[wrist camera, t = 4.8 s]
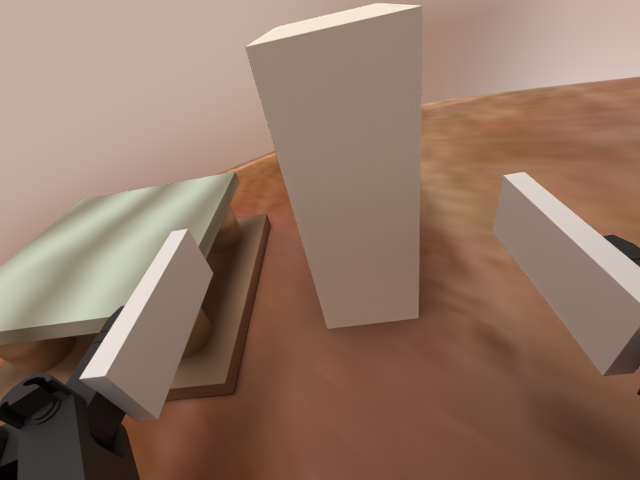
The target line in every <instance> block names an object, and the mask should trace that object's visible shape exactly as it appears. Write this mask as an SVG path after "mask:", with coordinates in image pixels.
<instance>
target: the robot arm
mask: <svg viewBox="0 0 640 480" xmlns="http://www.w3.org/2000/svg"><path fill="white" fill-rule="evenodd" d="M493 233H494V234H495V235H496V237H497V238H498V239H499V241H500V242H501V243H502V245H503V246H504V247H505V248H506V250H507V251H508V252H509V254H510V255H511V256H512V258H513V259H514V260H515V262H516V263H517V264H518V265H519V267H520V268H521V269H522V271H523V272H524V273H525V275H526V276H527V277H528V279H529V280H530V281H531V283H532V284H533V285H534V286H535V288H536V289H537V290H538V292H539V293H540V294H541V296H542V297H543V298H544V300H545V301H546V302H547V303H548V305H549V306H550V307H551V309H552V310H553V311H554V313H555V314H556V315H557V317H558V318H559V319H560V320H561V322H562V323H563V324H564V326H565V327H566V328H567V330H568V331H569V332H570V334H571V335H572V336H573V338H574V339H575V340H576V341H577V343H578V344H579V345H580V347H581V348H582V349H583V351H584V352H585V353H586V355H587V356H588V357H589V358H590V360H591V361H592V362H593V364H594V365H595V366H596V368H597V369H598V370H599V372H600V373H601V374H602V376H608V375H618V374H628V373H634V372H635V371H636V370H637V368H638V367H639V366H640V248H639V247H637V246H636V245H635V244H633V243H630V242H628V241H626V240H624V239H622V238H619V237H617V236H615V235H608V236H601V235H600V234H599V233H598V232H596V231H595V230H594V229H593V228H592V227H590V226H589V225H588V224H587V223H586V222H584V221H583V220H582V219H581V218H579V217H578V216H577V215H576V214H575V213H573V212H572V211H571V210H570V209H569V208H567V207H566V206H565V205H564V204H562V203H561V202H560V201H559V200H558V199H556V198H555V197H554V196H553V195H552V194H550V193H549V192H548V191H547V190H546V189H544V188H543V187H542V186H541V185H539V184H538V183H537V182H536V181H535V180H533V179H532V178H531V177H530V176H529V175H527V174H526V173H525V172H521V173H515V174H509V175H503V180H502V185H501V190H500V195H499V200H498V206H497V211H496V216H495V221H494V226H493ZM212 275H213V272H212V270H211V268H210V267H209V265H208V263H207V261H206V260H205V258H204V256H203V254H202V253H201V251H200V249H199V247H198V246H197V244H196V242H195V240H194V239H193V237H192V235H191V233H190V231H189V230H188V229H184V230H178V231H172V232H171V233H170V235H169V237H168V238H167V240H166V241H165V243H164V244H163V246H162V248H161V249H160V251H159V252H158V254H157V256H156V257H155V259H154V260H153V262H152V264H151V265H150V267H149V268H148V270H147V272H146V273H145V275H144V276H143V278H142V280H141V281H140V283H139V284H138V286H137V287H136V289H135V291H134V292H133V294H132V295H131V297H130V299H129V300H128V302H127V303H126V305H125V306H121V307H120V308H119V309H117V310H116V311H115V312H114V313H113V314H112V315H111V316H110V317H109V318H108V320H107V321H106V323H105V324H104V326H103V327H102V329H101V330H100V334H98V335H97V336H96V338H95V339H94V341H93V345H91V346H90V347H89V349H88V350H87V352H86V353H85V355H84V356H83V358H82V359H81V361H80V362H79V364H78V365H77V367H76V368H75V370H74V372H73V373H72V375H71V376H70V378H69V379H68V381H67V382H66V384H63V383H62V382H60V381H59V380H58V379H56V378H55V377H53V376H52V375H50V374H48V373H44V372H42V373H38V374H34V375H32V376H30V377H28V378H26V379H24V380H22V381H21V382H20V383H18V384H17V385H15V386H14V387H13V388H12V389H11V390H10V391H9V392H8V393H7V394H6V395H5V396H4V397H3V398H2V399H1V401H0V420H1V421H3V422H5V423H7V424H4V425H2V426H0V480H140V479H139V475H138V471H137V468H136V464H135V460H134V457H133V453H132V449H131V446H130V442H129V438H128V435H127V431H126V429H125V427H124V426H123V425H122V424H121V422H122V420H123V418H124V416H125V414H127V415H128V416H130V417H131V418H132V419H134V420H135V421H146V420H156V419H158V418H159V416H160V413H161V410H162V408H163V405H164V402H165V400H166V397H167V394H168V392H169V389H170V386H171V384H172V381H173V379H174V376H175V373H176V371H177V368H178V365H179V363H180V360H181V357H182V355H183V352H184V349H185V347H186V344H187V342H188V339H189V336H190V334H191V331H192V328H193V326H194V323H195V320H196V318H197V315H198V312H199V310H200V307H201V305H202V302H203V299H204V297H205V294H206V291H207V289H208V286H209V283H210V281H211V278H212ZM637 394H638V395H640V388H639V390H638V392H637Z"/></svg>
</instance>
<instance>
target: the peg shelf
mask: <svg viewBox="0 0 640 480" xmlns="http://www.w3.org/2000/svg"><path fill="white" fill-rule="evenodd" d="M238 185H239V180H238V178H237V175H236V173H235V172H231V173H226V174H220V175H215V176H209V177H204V178H199V179H193V180H188V181H182V182H177V183H172V184H166V185H160V186H155V187H150V188H144V189H138V190H133V191H128V192H123V193H117V194H111V195H106V196H100V197H95V198H90V199H84V200H81V201H79V202H78V203H77V204H76V205H75V206H73V207H72V208H71V209H70V210H69V211H67V212H66V213H65V214H64V215H63V216H61V217H60V218H59V219H58V220H57V221H56V222H54V223H53V224H52V225H51V226H49V227H48V228H47V229H46V230H45V231H44V232H42V233H41V234H40V235H39V236H38V237H36V238H35V239H34V240H33V241H32V242H30V243H29V244H28V245H27V246H26V247H24V248H23V249H22V250H21V251H20V252H18V253H17V254H16V255H15V256H14V257H13V258H11V259H10V260H9V261H8V262H7V263H5V264H4V265H3V266H2V267H1V268H0V357H1V358H2V359H4V360H5V361H6V362H5V363H4V364H3V365H2V366H1V367H0V401H1V399H2V398H3V397H4V396H5V395H6V394H7V393H8V392H9V391H10V390H11V389H12V388H13V387H14V386H15V385H17V384H18V383H20V382H21V381H22V380H24V379H26V378H28V377H30V376H32V375H34V374H38V373H42V372H44V373H48V374H50V375H52V376H53V377H55V378H56V379H58V380H59V381H60V382H62V383H63V384H66V382H67V381H68V379H69V378H70V376H71V375H72V373H73V372H74V370H75V368H76V367H77V365H78V364H79V362H80V361H81V359H82V358H83V356H84V355H85V353H86V352H87V350H88V349H89V347H90V346H91V345H93V341H94V339H95V338H96V336H97V335H98V334H100V330H101V329H102V327H103V326H104V324H105V323H106V321H107V320H108V318H109V317H110V316H111V315H112V314H113V313H114V312H115V311H116V310H117V309H119V308H120V307H121V306H125V305H126V303H127V302H128V300H129V299H130V297H131V295H132V294H133V292H134V291H135V289H136V287H137V286H138V284H139V283H140V281H141V280H142V278H143V276H144V275H145V273H146V272H147V270H148V268H149V267H150V265H151V264H152V262H153V260H154V259H155V257H156V256H157V254H158V252H159V251H160V249H161V248H162V246H163V244H164V243H165V241H166V240H167V238H168V237H169V235H170V233H171V232H172V231H178V230H184V229H188V230H189V231H190V233H191V235H192V237H193V239H194V240H195V242H196V244H197V246H198V247H199V249H200V251H201V253H202V254H203V256H204V258H205V260H206V261H207V263H208V265H209V267H210V268H211V270H212V272H213V275H212V278H211V281H210V283H209V286H208V289H207V291H206V294H205V297H204V299H203V302H202V305H201V307H200V310H199V312H198V315H197V318H196V320H195V323H194V326H193V328H192V331H191V334H190V336H189V339H188V342H187V344H186V347H185V349H184V352H183V355H182V357H181V360H180V363H179V365H178V368H177V371H176V373H175V376H174V379H173V381H172V384H171V386H170V389H169V392H168V394H167V397H166V400H176V399H187V398H197V397H207V396H218V395H228V394H234V389H235V384H236V380H237V375H238V371H239V366H240V362H241V357H242V352H243V348H244V343H245V339H246V334H247V330H248V325H249V320H250V316H251V311H252V307H253V302H254V298H255V293H256V288H257V284H258V279H259V275H260V270H261V266H262V261H263V256H264V252H265V247H266V243H267V238H268V234H269V229H270V221H269V219H268V216H267V214H263V215H257V216H251V217H245V218H239V219H236V217H235V215H234V213H233V210H232V208H231V206H230V203H231V201H232V199H233V196H234V194H235V192H236V189H237V187H238ZM166 400H165V401H166Z"/></svg>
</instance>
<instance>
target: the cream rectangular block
mask: <svg viewBox="0 0 640 480" xmlns="http://www.w3.org/2000/svg"><path fill="white" fill-rule="evenodd" d="M245 48H246V52H247V55H248V59H249V62H250V65H251V69H252V72H253V76H254V79H255V83H256V86H257V89H258V93H259V96H260V99H261V103H262V107H263V110H264V113H265V117H266V120H267V124H268V127H269V130H270V134H271V137H272V141H273V144H274V148H275V151H276V154H277V158H278V161H279V165H280V168H281V172H282V175H283V178H284V182H285V185H286V189H287V192H288V196H289V199H290V202H291V206H292V209H293V213H294V216H295V220H296V223H297V226H298V230H299V233H300V237H301V240H302V244H303V247H304V250H305V254H306V257H307V261H308V264H309V268H310V271H311V274H312V278H313V281H314V285H315V288H316V292H317V295H318V298H319V302H320V305H321V309H322V312H323V316H324V319H325V322H326V326H327V329H331V328H340V327H348V326H357V325H365V324H374V323H382V322H391V321H399V320H408V319H416V318H419V244H420V162H421V79H422V78H421V77H422V71H421V70H422V6H419V5H400V4H382V3H376V4H372V5H368V6H363V7H359V8H355V9H350V10H346V11H342V12H338V13H334V14H330V15H325V16H321V17H317V18H313V19H308V20H304V21H300V22H296V23H292V24H287V25H284V26H279V27H276V28H274V29H273V30H271V31H270V32H268V33H266V34H265V35H263V36H262V37H260V38H258V39H257V40H255V41H254V42H252V43H251V44H249V45H247V46H246V47H245Z"/></svg>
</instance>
